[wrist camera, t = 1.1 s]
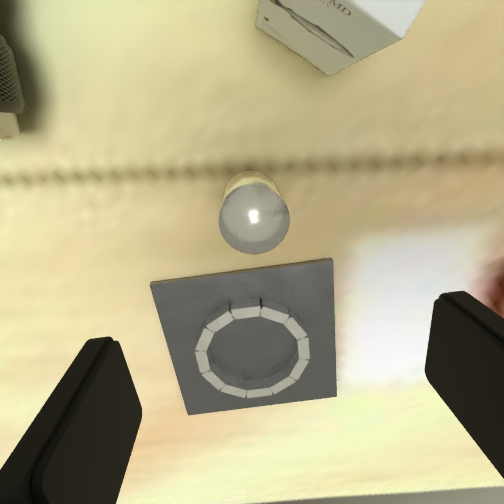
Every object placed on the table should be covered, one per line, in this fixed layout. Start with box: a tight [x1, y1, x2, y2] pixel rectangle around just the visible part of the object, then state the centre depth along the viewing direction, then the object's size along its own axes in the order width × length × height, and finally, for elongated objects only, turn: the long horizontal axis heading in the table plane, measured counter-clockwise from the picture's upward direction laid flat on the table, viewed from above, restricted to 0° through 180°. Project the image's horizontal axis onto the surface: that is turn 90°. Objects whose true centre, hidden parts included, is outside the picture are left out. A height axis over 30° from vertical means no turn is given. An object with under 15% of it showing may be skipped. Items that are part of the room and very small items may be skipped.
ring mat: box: [150, 258, 337, 415], centre depth 35 cm, size 19×19×2 cm
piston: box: [219, 170, 289, 254], centre depth 25 cm, size 5×5×8 cm
